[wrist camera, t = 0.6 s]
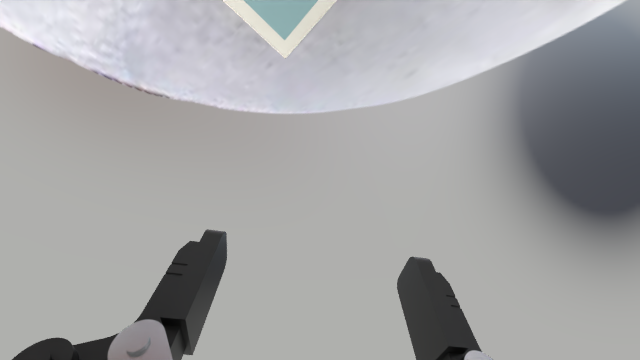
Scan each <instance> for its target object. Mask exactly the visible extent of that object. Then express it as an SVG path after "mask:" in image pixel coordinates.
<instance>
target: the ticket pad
mask: <svg viewBox="0 0 640 360" xmlns="http://www.w3.org/2000/svg"><path fill="white" fill-rule="evenodd" d="M223 1H224V2H225V3H226V4H227V5H228V6H229V7H230V8H231V9H232V10H233V11H234V12H235V13H237V14H238V15H239V16H240V17H241V18H242V19H243V20H244V21H245V22H246V23H247V24H248V25H249V26H251V27H252V28H253V29H254V30H255V31H256V32H257V33H258V34H259V35H260V36H261V37H262V38H263V39H264V40H266V41H267V42H268V43H269V44H270V45H271V46H272V47H273V48H274V49H275V50H276V51H277V52H278V53H280V54H281V55H282V56H283V57H284V58H285V59H286V58H287V57H288V55H289V54H290V53H291V52H292V51H293V50H294V49H295V47H296V46H297V45H298V44H299V43H300V42H301V41H302V39H303V38H304V37H305V36H306V35H307V34H308V33H309V31H310V30H311V29H312V28H313V27H314V26H315V25H316V24H317V22H318V21H319V20H320V19H321V18H322V17H323V16H324V14H325V13H326V12H327V11H328V10H329V9H330V8H331V6H332V5H333V4H334V3H335V2H336V1H337V0H223Z"/></svg>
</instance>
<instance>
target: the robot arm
mask: <svg viewBox="0 0 640 360" xmlns="http://www.w3.org/2000/svg"><path fill="white" fill-rule="evenodd" d="M226 260H227V242H226V232H223V231H215V230H206V231H205V232H204V234H203V236H202V238H201V240H200V242H195V241H190V242H189V243H187V244H186V245H185V246H184V247H183V248H181V249H180V250H179V251H178V253H177V255H176V256H175V258H174V259H173V261H172V264H171V265H170V266H169V268H168V270H167V271H166V274H165V275H164V276H163V278H162V280H161V281H160V283H159V285H158V287H157V288H156V290H155V292H154V293H153V295H152V297H151V298H150V300H149V302H148V303H147V305H146V307H145V309H144V310H143V312H142V314H141V315H140V316H139V318H138V319H137V320H136V321H135V322H134V323H133V324H131V325H130V326H128V327H126V328H125V329H124V330H122V331H121V332H120V333H118V334H116V335H113V336H111V337H107V338H104V339H99V340H95V341H90V342H86V343H81V344H77V345H72V344H71V343H70V342H69V341H68V340H66V339H63V338H51V339H46V340H43V341H40V342H38V343H36V344H33V345H32V346H30V347H28V348H26V349H25V350H24V351H22V352H21V353H19V354H18V355H17V356H16V357H14V358H13V359H12V360H181V359H182V356H183V354H186V355H193V352H194V350H195V347H196V344H197V341H198V339H199V336H200V334H201V331H202V328H203V325H204V323H205V320H206V317H207V314H208V312H209V309H210V307H211V304H212V301H213V299H214V296H215V293H216V291H217V288H218V285H219V282H220V280H221V277H222V274H223V272H224V269H225V265H226ZM397 289H398V294H399V298H400V301H401V305H402V309H403V312H404V316H405V320H406V323H407V327H408V330H409V334H410V338H411V341H412V345H413V349H414V352H415V356H416V360H493V359H492V358H491V357H489V356H488V355H486V354H485V353H482V351H481V349H480V348H479V345H478V343H477V341H476V339H475V337H474V336H473V333H472V331H471V328H470V326H469V324H468V322H467V320H466V318H465V316H464V314H463V312H462V309H460V305H459V303H458V301H457V299H456V298H455V294H454V292H453V290H452V288H451V286H450V284H449V283H448V281H446V279H445V278H444V277H443V276H442V274H441V273H438V272H436V271H435V269H434V266H433V264H432V262H431V261H430V260H429V259H426V258H418V257H410V258H409V260H408V261H407V263H406V265H405V267H404V269H403V270H402V272H401V274H400V276H399V278H398V282H397Z"/></svg>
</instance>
